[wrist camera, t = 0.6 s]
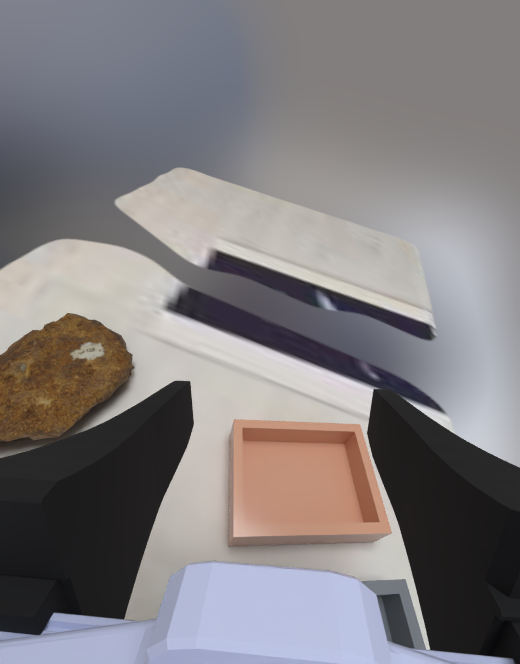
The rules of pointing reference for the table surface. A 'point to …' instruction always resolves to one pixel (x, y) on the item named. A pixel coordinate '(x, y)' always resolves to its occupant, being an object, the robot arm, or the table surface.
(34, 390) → the decorative rock
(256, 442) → the terracotta bin
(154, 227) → the table surface
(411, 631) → the charcoal bin
